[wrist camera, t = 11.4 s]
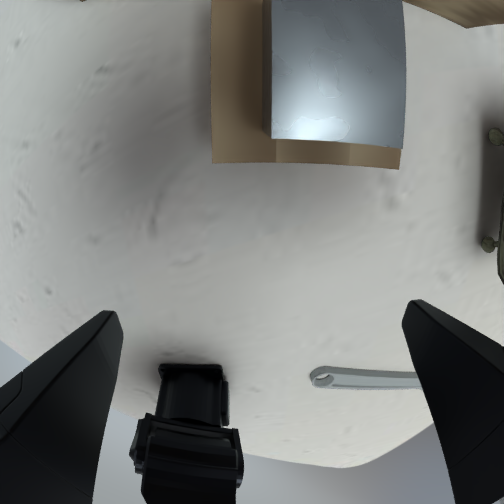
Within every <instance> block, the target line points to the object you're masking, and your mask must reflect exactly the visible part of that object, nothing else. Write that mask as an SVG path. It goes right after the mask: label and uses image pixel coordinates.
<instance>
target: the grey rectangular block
mask: <svg viewBox="0 0 504 504" xmlns="http://www.w3.org/2000/svg"><path fill="white" fill-rule="evenodd" d="M405 103H406V46H405V28H404V16H403V5H402V0H263V3H262V131H263V132H264V133H265V134H266V135H268V136H269V137H270V138H271V139H301V140H320V141H335V142H347V143H358V144H367V145H376V146H384V147H392V148H399V149H402V148H403V137H404V123H405Z"/></svg>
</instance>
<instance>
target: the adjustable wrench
mask: <svg viewBox="0 0 504 504" xmlns="http://www.w3.org/2000/svg"><path fill="white" fill-rule="evenodd" d="M325 374H329V376H328V377H326V378H324V379H316V378H317V377H319V376H321V375H325ZM310 377H311V382H312V385H313V386H314V387H317V388H330V389H357V390H394V389H421V390H423V389H422V387H421V384H420V381H419V379H418V376H417V373H416V372H394V371H376V370H362V369H350V368H339V367H330V366H323V367H319V368H317V369H315V370H314V371H313V372H312V373H311V375H310Z"/></svg>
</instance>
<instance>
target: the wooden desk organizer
mask: <svg viewBox="0 0 504 504" xmlns="http://www.w3.org/2000/svg"><path fill="white" fill-rule="evenodd" d="M80 1H82V2H83V1H85V0H80ZM402 1H404V2H407V3H410V4H413V5H415V6H418V7H421V8H423V9H426V10H428V11H430V12H433V13H435V14H437V15H440V16H442V17H444V18H446V19H449V20H451V21H453V22H455V23H457V24H459V25H461V26H463V27H465V28H472V27H479V26H486V25H494V24H504V0H402ZM262 3H263V0H212V5H211V132H212V163H248V162H276V163H316V164H336V165H352V166H365V167H377V168H388V169H397V170H399V165H400V156H401V149H399V148H392V147H384V146H376V145H367V144H358V143H347V142H335V141H320V140H301V139H271V138H270V137H269V136H268V135H266V134H265V133H264V132H263V131H262Z"/></svg>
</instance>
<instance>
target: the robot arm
mask: <svg viewBox="0 0 504 504" xmlns="http://www.w3.org/2000/svg"><path fill="white" fill-rule="evenodd" d="M402 329H403V332H404V335H405V338H406V342H407V345H408V348H409V352H410V355H411V359H412V362H413V365H414V368H415V371H416V373H417V376H418V379H419V381H420V384H421V387H422V389H423V392H424V395H425V398H426V400H427V403H428V406H429V409H430V412H431V415H432V418H433V421H434V424H435V427H436V430H437V433H438V437H439V440H440V443H441V447H442V450H443V454H444V457H445V461H446V465H447V468H448V473H449V477H450V481H451V486H452V490H453V494H454V499H455V504H492V503H494V502H496V501H498V500H500V503H501V504H504V346H501V345H500V344H499V343H497V342H495V341H493V340H492V339H490V338H488V337H487V336H485V335H483V334H482V333H480V332H478V331H476V330H475V329H473V328H471V327H470V326H468V325H466V324H464V323H463V322H461V321H459V320H457V319H456V318H454V317H452V316H450V315H448V314H447V313H445V312H443V311H441V310H440V309H438V308H436V307H434V306H432V305H431V304H429V303H427V302H425V301H423V300H421V299H418V300H411V301H410V302H409V303H408V305H407V308H406V311H405V314H404V316H403V319H402ZM122 344H123V330H122V327H121V324H120V321H119V318H118V315H117V313H116V312H115V311H108V310H103V311H101V312H100V313H98V314H97V315H96V316H94V317H93V318H92V319H90V320H89V321H87V322H86V323H85V324H83V325H82V326H81V327H79V328H78V329H76V330H75V331H74V332H72V333H71V334H70V335H68V336H67V337H66V338H64V339H63V340H62V341H60V342H59V343H58V344H56V345H55V346H54V347H52V348H51V349H50V350H48V351H47V352H46V353H44V354H43V355H42V356H41V357H39V358H38V359H37V360H35V361H34V362H33V363H31V364H30V365H29V366H28V367H26V368H25V369H24V370H23V372H22V371H21V372H20V373H19V374H17V375H16V376H15V377H14V378H12V379H11V380H10V381H8V382H7V383H6V384H5V385H3V386H2V387H0V504H92V501H93V499H92V497H93V492H94V485H95V478H96V473H97V467H98V461H99V455H100V450H101V445H102V440H103V436H104V431H105V426H106V422H107V417H108V413H109V409H110V405H111V401H112V397H113V393H114V389H115V385H116V380H117V374H118V368H119V361H120V355H121V349H122ZM158 370H159V373H160V376H161V379H162V381H161V386H160V391H159V396H158V401H157V406H156V412H155V415H152V414H150V413H146V414H145V418H144V419H139V420H138V424H137V430H136V433H135V437H134V439H133V442H132V445H131V448H130V452H129V456H130V457H131V458H132V460H133V461H134V466H135V473H137V474H141V475H143V476H142V485H141V493H142V495H143V497H144V499H145V501H146V503H147V504H236V488H239V487H240V485H241V483H242V479H243V473H244V460H243V454H242V448H241V443H240V437H239V432H238V429H235V428H232V429H228V428H223V426H228V425H229V387H228V382H227V381H224V378H223V369H222V367H221V366H218V365H171V364H160V365H159V368H158Z"/></svg>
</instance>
